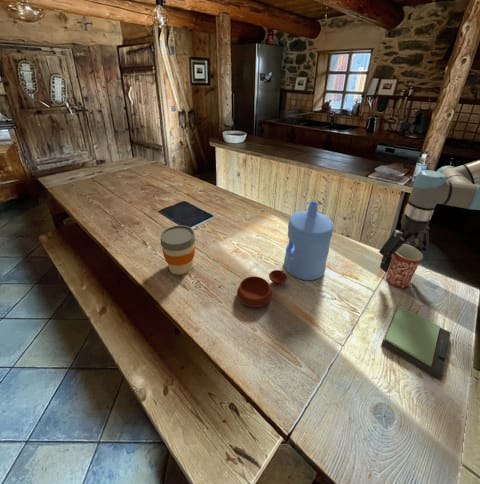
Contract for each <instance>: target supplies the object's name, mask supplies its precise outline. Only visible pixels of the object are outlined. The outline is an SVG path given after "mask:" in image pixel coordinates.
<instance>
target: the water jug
mask: <svg viewBox="0 0 480 484" xmlns="http://www.w3.org/2000/svg"><path fill="white" fill-rule="evenodd" d="M318 207H319V203H318V202H317V201H309V203H308V209H307V210H301V211H297V212H294V213H292V215H291V216H289V220H288V224H287V238H288V243H287V246H286V248H285V254H284V259H283V265H284V267H285V269H286V271H287V273H289V274H290V275H292V276H293V277H295V278H297V279H300V280H304V281H313V280H318V279H320V278H321V277H322V276H324V274H325V272H326V266H327V260H328V256H329V253H330V252H329V251H330V244H331V240H332V236H333V232H334V223H333V221H332V220H331V218H329V217H328V216H326V215H325V214H324V213H323V214H322V213H319V212H318V210H319V208H318Z"/></svg>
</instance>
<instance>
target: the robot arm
mask: <svg viewBox="0 0 480 484" xmlns="http://www.w3.org/2000/svg"><path fill="white" fill-rule="evenodd" d="M438 204H439V205H443V206H450V207H456V208H461V209H465V210H466V209H467V210H475V211H480V159H477V160H474V161H471V162H468V163H464V164H462V165H459V166H452V165H443V166H441V167H440V168H438V169H437V170H436V171H435V170H431V169H424V170H420V171H419V172H418V173H417V175H416V177H415V180H414V182H413V185H412V188H411V192H410V195H409V197H408V200H407V204H406V205H405V209H404V213H403V214H402V217H401V220H400V224H401V228H400V230H398V229H393V230H392V232H391V235H390V236H389V238H388V239H387V240H386V241H385V243H384V244H383V245H382V247H381V248H380V250H379V251H378V253H379V254H380V255H381V256H382V257H381V262H380V266H379V268H380V269H381V270H382V271H383V272H384V273H387V272H388V269H389V265H390V263H391V260H392V257H391V256H392V255H393V254H394V253H395V252H396V251H397V250H398V249H399V248H400V247H401V246H402V245H403V244H406V245H407V243H408V242H411V241H413V242H414V246H413V247H415V248H416V249H418V250H419V251H420V252H421V253H422V252H426V251H427V250H428V248H429V247H430V234H429V233H430V229H431V228H430V227H429V224H430V220H431V219H432V217H433V214H434V211H435V209H436V206H437V205H438Z"/></svg>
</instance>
